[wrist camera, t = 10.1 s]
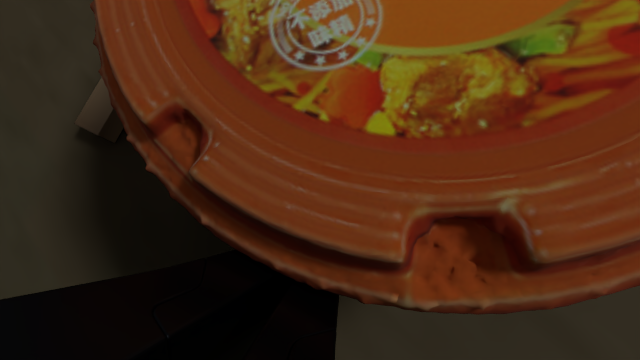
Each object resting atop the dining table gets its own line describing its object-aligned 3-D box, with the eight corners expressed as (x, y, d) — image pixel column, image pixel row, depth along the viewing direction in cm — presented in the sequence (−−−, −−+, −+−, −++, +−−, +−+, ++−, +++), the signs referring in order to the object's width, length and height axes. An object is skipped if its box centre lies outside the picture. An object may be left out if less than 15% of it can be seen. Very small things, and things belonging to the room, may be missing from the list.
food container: (455, -98, 19) (530, -514, 9) (697, 156, 15) (1391, -98, 5) (191, 68, 20) (-20, -146, 10) (347, 361, 15) (263, 547, 5)
